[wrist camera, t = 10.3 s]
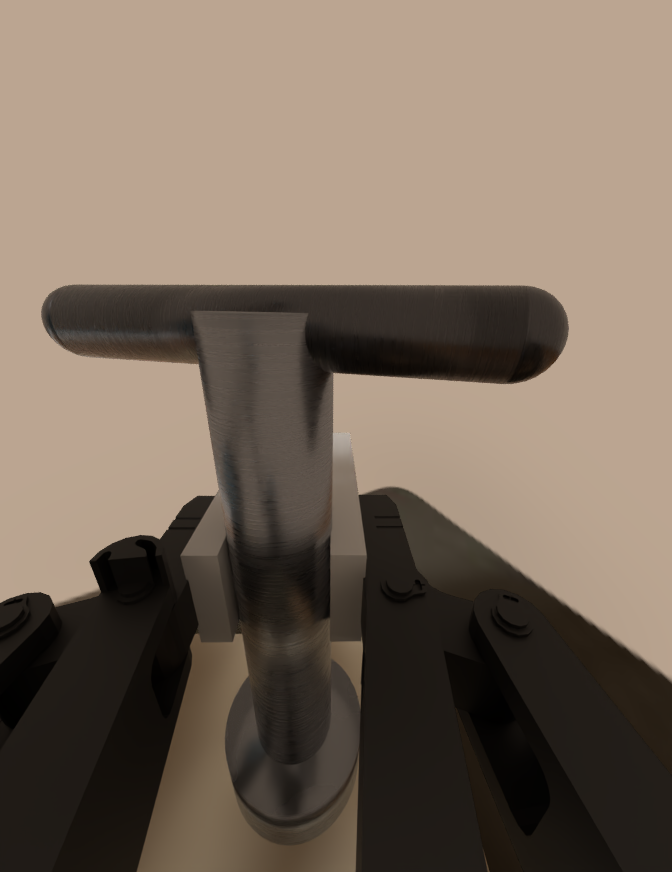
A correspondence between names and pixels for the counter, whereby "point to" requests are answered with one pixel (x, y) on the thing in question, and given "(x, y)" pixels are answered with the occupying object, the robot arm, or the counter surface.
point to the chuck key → (299, 476)
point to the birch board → (212, 787)
